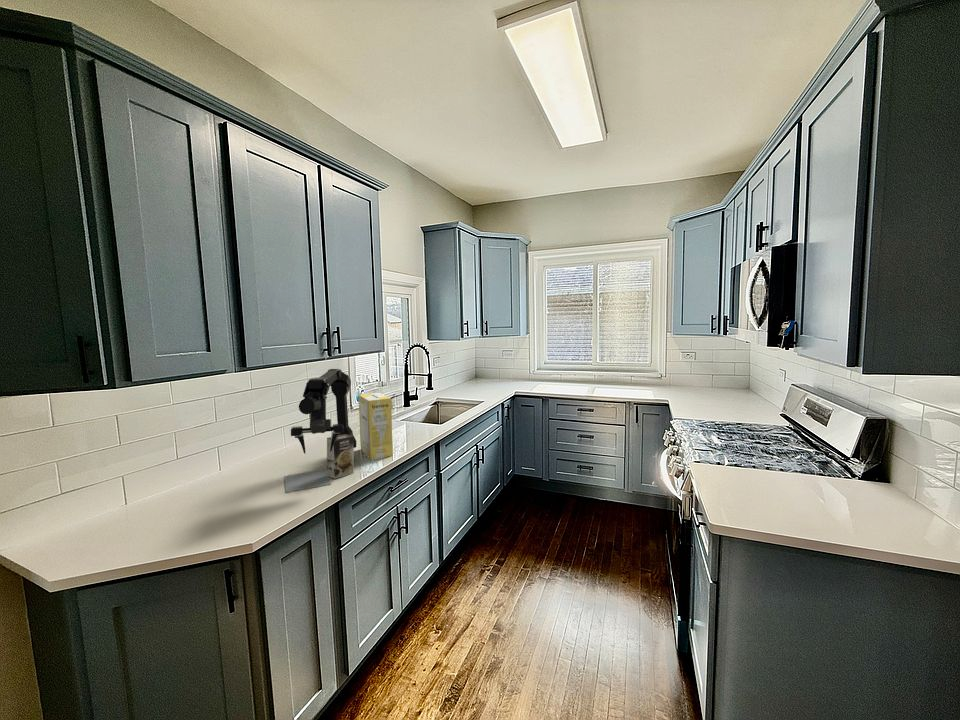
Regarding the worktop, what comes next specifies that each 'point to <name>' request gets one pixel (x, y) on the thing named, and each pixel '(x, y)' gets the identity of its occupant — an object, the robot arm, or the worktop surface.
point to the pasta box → (375, 425)
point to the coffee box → (340, 456)
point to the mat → (306, 480)
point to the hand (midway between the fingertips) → (317, 452)
